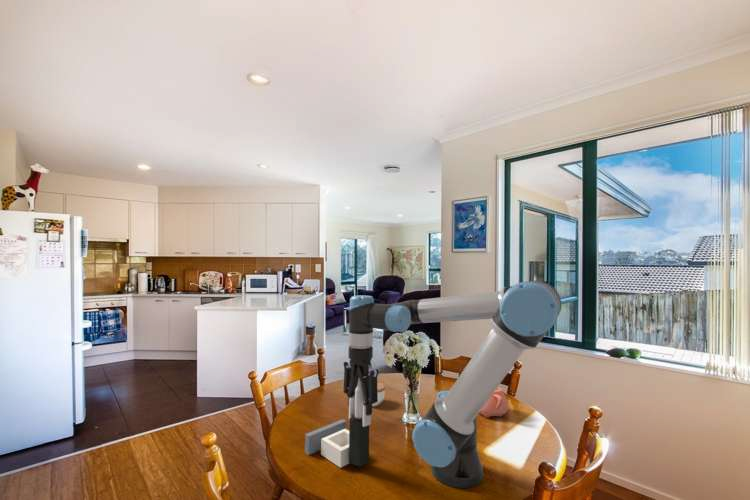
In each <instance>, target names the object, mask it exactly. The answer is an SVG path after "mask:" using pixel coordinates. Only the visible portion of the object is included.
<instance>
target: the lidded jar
mask: <svg viewBox="0 0 750 500" xmlns="http://www.w3.org/2000/svg"><path fill="white" fill-rule="evenodd" d="M385 393H386V384H384V383H382V382H379V381H377V395H378V402H377V403H374V404H372V407H377V406H379V405H381V404H382V402H383V401H384V398H385ZM368 400H369V399H368ZM364 403H365V401H364Z"/></svg>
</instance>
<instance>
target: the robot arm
mask: <svg viewBox="0 0 750 500" xmlns="http://www.w3.org/2000/svg"><path fill="white" fill-rule="evenodd" d="M561 310H562V299H561V297H560V294H559V292H558V291H557V290H556V289H555V287H553V286H552V285H551V284H549V283H547V282H545V281H541V280H528V281H522V282H521V281H520V282H519V283H516V284H514V285H509V286H504V287H502V289H501V290H498V291H489V292H479V293H471V294H470V293H469V294H460V295H459V294H458V295H451V296H441V297H433V298H422V299H408V300H405V301H402V302H401V301H400V302H394V303H390V304H385V303H375V301H374V297H373V296H372V295H366V294H365V295H363V294H362V295H361V294H360V295H357V294H356V295H353V296H351V297H350V298H349V307H348V318H349V319H348V320H349V322H348V326H349V329H348V345H349V347H348V359H349V360H347V361H344V362H343V369H344V371H343V372H344V374H343V375H344V376H343V394H346V396H347V407H348V420H350V418H351V417H352V415H354V414H355V389H356V387H357V386H358V382H359V379H360V381H361V383H362V389H363V395H364V401H365V402H364V403H363V421H362V426H363V427H365V426H367V425H369V426H370V425H371V422H372V421H371V420H372V417H371V416H372V414H373V406H372V404H374V403H377V402H378V395H377V382H378V376H379V369H377V368H374V367H373V365H372V361H371V360H372V359H373V358H374V357H373V356H374V354H373V353H374V351H373V350H374V347H373V343H374V339H373V338H374V329H375V330H377V329H378V330H382V331H390V332H393V333H398V332H400V333H403V332H406V331H407V330H408V328H410V326H411V325H418V324H428V323H429V324H430V323H442V322H443V323H444V322H445V323H446V322H461V321H477V320H490V321H491V324H492V328H491V329H490V331H489V333H488V334H487V336H486V337H485V338H484V340H483V341H482V342H481V344H480V345H479V347H478V349H477V350H476V351H475V353H474V354H473V355H472V357H471V359H470V360H469V362H468V363H467V365H466V366H465V367H464V368H463V370H462V372H461V374H460V375H459V376H458V378H457V379H456V381H455V382H454V383H453V385H452V386H451V387H450V389H449V390H441V391H438V392H437V394H436V399H435V401H434V402H433V403H432V405H431V406H430V408H429V409H428V411H427V412H426V413H425V415H424V416H423V417H422V419H420V420H418V421H417V423H416V425H415V426H414V428H413V431H412V437H411V438H412V439H411V440H412V442H413V448H414V449H415V451H416V454H417V455H418V456H419V457H420V458H421V459H422V460H423V461H424V462H425V463H426V464H428V465H430V472H431V474H432V475H433V477H434V478H435V479H436V480H438V481H439V482H441V483H442V484H445V485H447V486H450V487H453V488H460V489H461V488H462V489H466V488H467V489H468V488H473V487H475V486H478V485H479V484H480V483H482V481H483V478H484V469H483V464H482V461H481V457H480V454H479V451H478V448H477V444H478V442H477V438H478V436H477V434H478V431H477V430H478V429H477V428H478V425H477V421H478V418H477V417H478V414H480V413H479V412H480V410H481V409H482V408H483V406H484V405H485V403H486V402H487V401H488V399H489V398H490V397H491V395H492V394H493V392H494V391H495V390H496V388H497V387H499V386H500V385H501V383H502V382H503V380H504V379H505V377H506V376H507V375H508V374H509V372H510V371H511V370H512V368H513V366H514V365H515V364H516V362H517V361H518V360H519V358H520V357H521V356H522V354H523V353H524V351H525V350H531V349H535V348H536V347H537V346H538V345H539V343H540V342H541V341H542V340H543V338H544V336H546V334H547V333H548V331H549V330H551V329H552V327H553V326H554V325H555V324H556V322H557V321H558V318H559V315H560V313H561ZM368 399H369V400H368Z"/></svg>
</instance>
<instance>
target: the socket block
mask: <svg viewBox="0 0 750 500" xmlns="http://www.w3.org/2000/svg"><path fill="white" fill-rule="evenodd" d="M320 455H321V456H322V457H324V458H325V459H327V460H328V461H330V462H331V463H333V464H334V465H335V466H336V467H339V468H343V467H345V466H347V465H349V464H350V463H349V429H348V428H347V429H343V430H341V431H338V432H336V433H334V434H331V435H329V436H327V437H324V438H322V439H321V450H320Z"/></svg>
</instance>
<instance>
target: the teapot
mask: <svg viewBox="0 0 750 500" xmlns="http://www.w3.org/2000/svg"><path fill="white" fill-rule="evenodd" d="M508 403H509V402H508V400H507V396H506V394H505V392H504V390H503V389H502V388H501V387H499V386H498V387H497V388H496V390H495V391H494V392H493V394H492V395H491V397H490V398H489V399H488V401H487V402H486V403H485V405H484V406H483V408H482V409H481V410H480V412H479V413H478V414H480V415H482V416H483V418H485V419H490V418H491V417H498V416H504V415H506V414H507V412H508V410H509V405H508ZM489 417H490V418H489Z"/></svg>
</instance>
